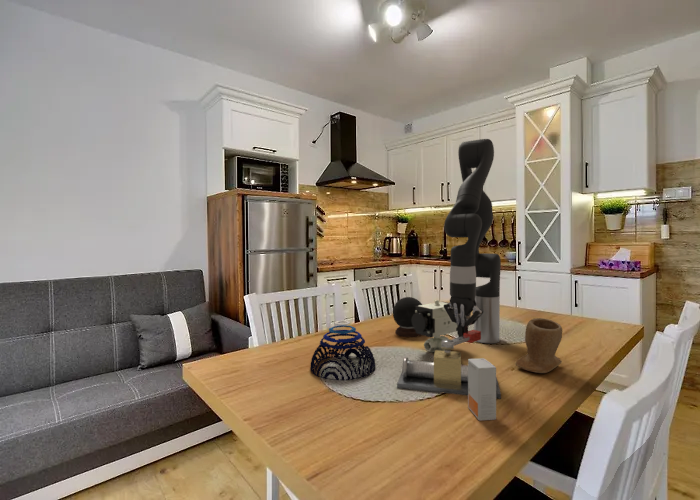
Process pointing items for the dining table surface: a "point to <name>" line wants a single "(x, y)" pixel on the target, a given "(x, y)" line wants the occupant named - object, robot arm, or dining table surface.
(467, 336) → the valve lever
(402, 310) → the black ball on base
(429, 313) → the ball valve
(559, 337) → the stone cup
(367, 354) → the decorative bowl
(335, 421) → the dining table surface
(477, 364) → the skincare box
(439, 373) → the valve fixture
